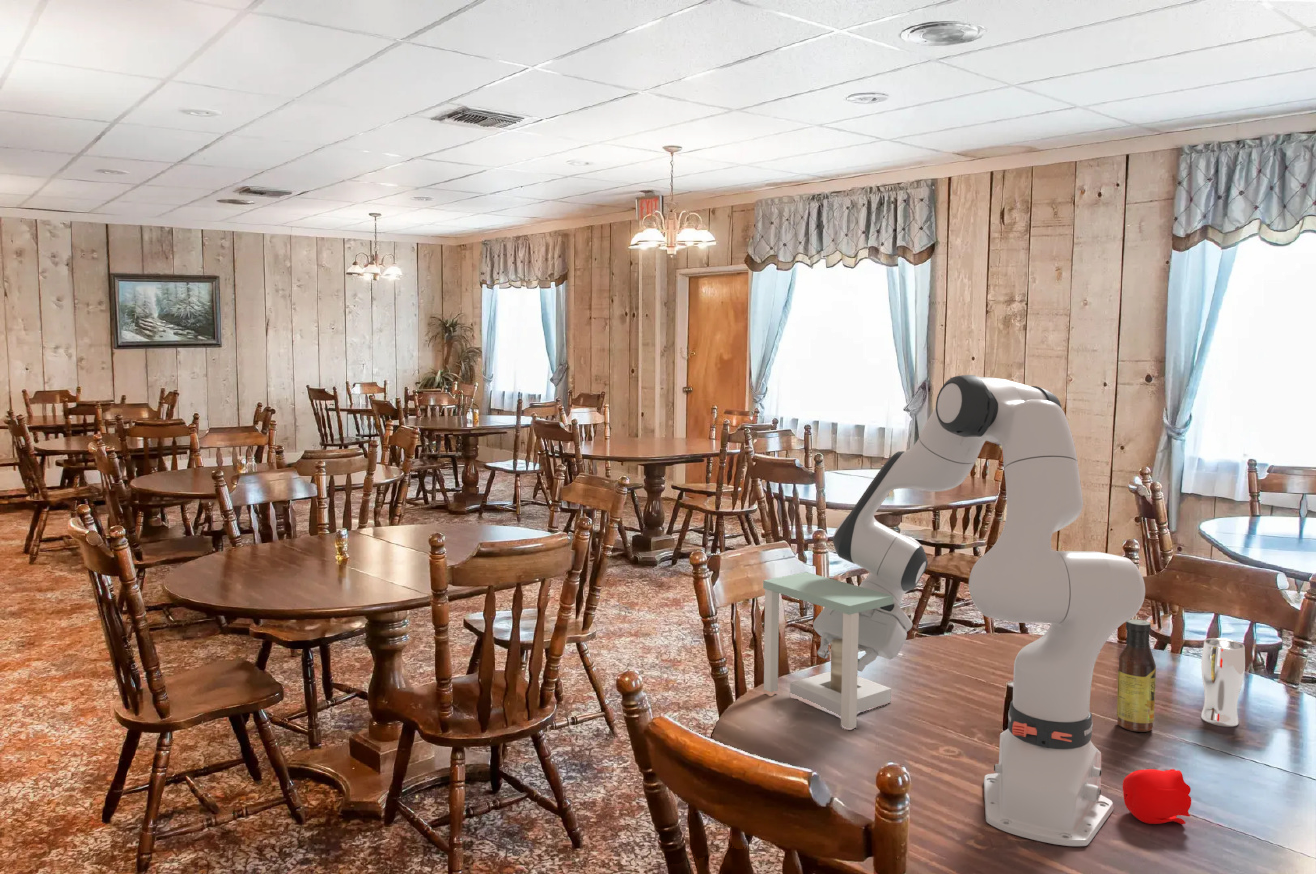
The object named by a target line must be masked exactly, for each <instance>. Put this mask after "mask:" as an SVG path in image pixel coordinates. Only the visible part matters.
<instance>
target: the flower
mask: <svg viewBox="0 0 1316 874" xmlns="http://www.w3.org/2000/svg"><path fill="white" fill-rule="evenodd" d="M1191 789H1192V788H1191V787H1190V785H1189V784H1187V783H1186V782H1185V780H1184V777H1183V773H1182V771H1181V770H1178V769H1177V770H1176V769H1174V768H1172V769H1166V770H1160V769H1155V768H1154V769H1153V768H1150V769H1149V768H1148V769H1137V770H1135V771H1132V772H1130V773H1128V774H1127V775H1126V776H1125V777H1124V778H1123V780H1122V793H1123V794H1122V795H1123V796H1122V797H1123V801H1124V805H1125V807H1126V809H1127V810H1128V811H1129V812H1130V813H1131V814H1132V815H1133V817H1135V819H1137V820H1139V821H1140V822H1142V823H1144V824H1148V825H1156V824H1157V825H1158V824H1160V825H1161V824H1165V823H1170V822H1174V823H1177V824H1178V825H1179V824H1180V825H1185V824H1186V821H1185V820H1184V819H1183V818H1180V817H1179V818H1178V817H1177V816H1182V817H1183V816H1184V817H1191V814H1189V813H1190V812H1189V810H1190V808H1191V806H1192V797H1191V796H1190V793H1191V791H1192V790H1191Z"/></svg>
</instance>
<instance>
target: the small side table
mask: <svg viewBox="0 0 1316 874" xmlns="http://www.w3.org/2000/svg"><path fill="white" fill-rule="evenodd" d="M762 581H763V582H762V583H763V584H762V588H763V589H764V635H763V636H764V643H763V644H764V648H763V649H764V650H763V653H764V654H763V660H764V662H763V665H764V666H763V691H764V690H767V691H769V692H773V691H778V692H779V638H780V637H779V633H780V632H779V629H780V628H779V627H780V626H779V625H780V614H779V613H780V594H781V595H784V596H787V597H790V598H794V599H797V600H800V601H804V602H806V603H810V604H813V605H816V606H819V607H822V608H823V607H824V608H825V607H826V608H829V609H832V610H836V611H839V612H842V613H843V640H842V690H841V719H840V726H841V725H843V726H844V727H846V728H854V727H856V728H857V716H858V714H857V676H858V659H859V649H858V628H859V612H863V611H867V610H871V609H875V608H879V607H883V606H887V605H891V604H893V596H892V595H889V594H885V593H881V592H878V591H874V590H870V589H867V588H863V587H859V586H860V585H859V586H858V585H855V584H852V583H847V582H844V581H841V580H836V579H833V578H829V577H825V576H823V575H818V574H815V573H810V572H807V571H805V572H800V573H795V574H790V575H784V576H779V577H774V578H770V579H764V580H762Z"/></svg>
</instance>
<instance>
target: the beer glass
mask: <svg viewBox="0 0 1316 874" xmlns="http://www.w3.org/2000/svg"><path fill="white" fill-rule="evenodd" d="M1245 650H1246V648H1245V645H1244V644H1243V643H1242V642H1240V641H1237V640H1236V641H1235V640H1232V639H1228V638H1220V637H1211V638H1210V637H1209V638H1205V639H1204V640H1203V648H1202V654H1201V667H1200V668H1201V678H1202V685H1203V686H1202V687H1203V693H1204V702H1203V703H1204V704H1203V708H1202V711H1201V715H1200V717H1201V720H1203V721H1204V722H1206V723H1208V724H1211V725H1214V726H1218V727H1226V728H1231V727H1232V728H1234V727H1236V726H1238V725H1239V716H1238V701H1239V696H1240V694H1241V693H1240V692H1241V689H1242V686H1243V681H1244V678H1245V670H1246V651H1245Z"/></svg>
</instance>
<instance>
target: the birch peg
mask: <svg viewBox="0 0 1316 874" xmlns="http://www.w3.org/2000/svg"><path fill="white" fill-rule="evenodd" d="M842 640H843V639H834V640H832V641H831V644H830V647H831V648H830V671H831V688H830V689H831V690H834V691H836V692H839V693H841V690H842Z"/></svg>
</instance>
